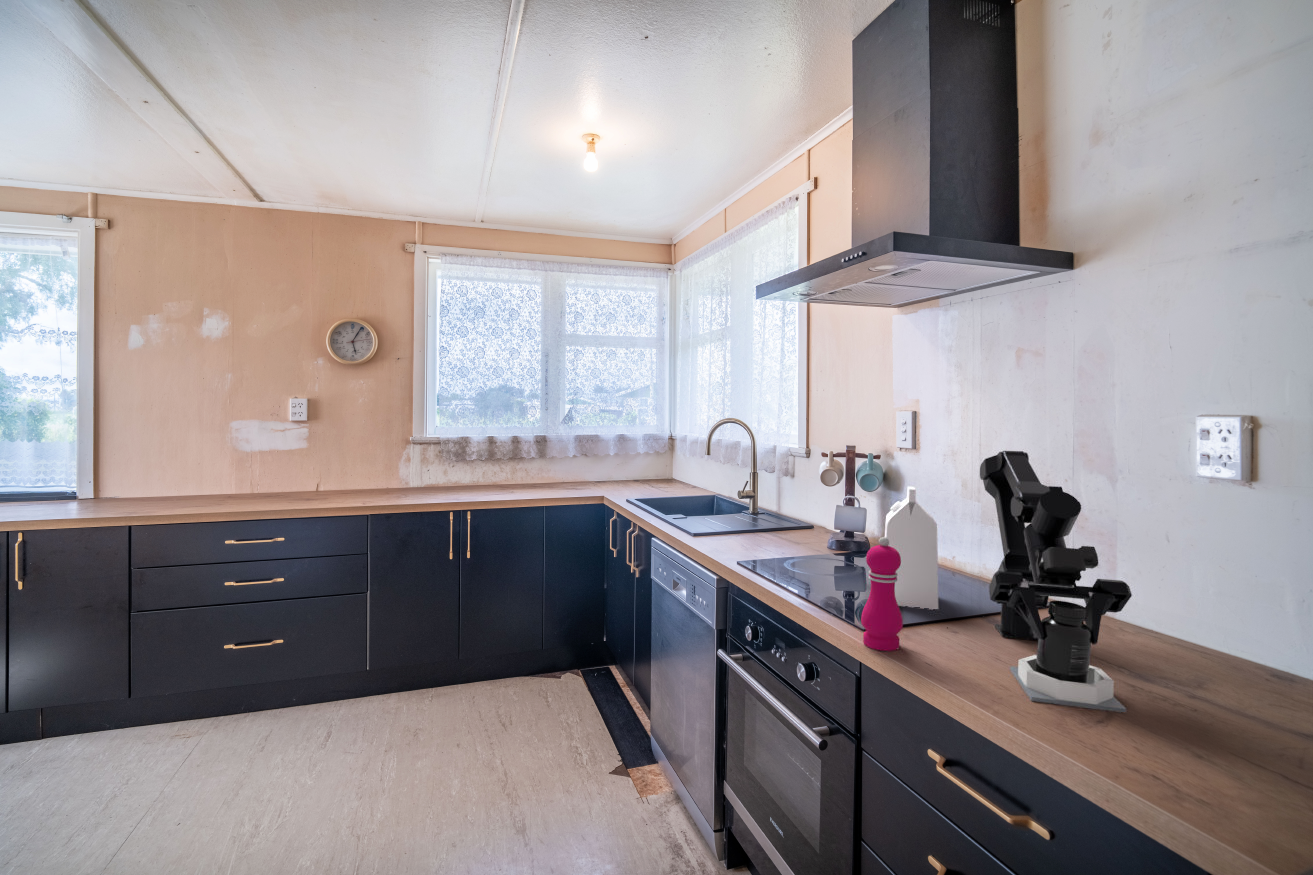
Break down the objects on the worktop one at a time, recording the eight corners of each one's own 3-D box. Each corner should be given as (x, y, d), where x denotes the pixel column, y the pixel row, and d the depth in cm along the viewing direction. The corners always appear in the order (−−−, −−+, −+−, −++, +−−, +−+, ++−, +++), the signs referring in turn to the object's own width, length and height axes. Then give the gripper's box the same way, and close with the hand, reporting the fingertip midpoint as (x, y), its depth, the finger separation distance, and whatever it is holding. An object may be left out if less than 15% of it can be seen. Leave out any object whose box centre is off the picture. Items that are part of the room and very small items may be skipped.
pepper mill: (852, 640, 115) (855, 534, 115) (883, 636, 118) (886, 532, 117) (878, 654, 109) (881, 541, 108) (910, 649, 111) (914, 539, 111)
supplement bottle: (1081, 677, 97) (1090, 603, 97) (1091, 695, 91) (1100, 615, 91) (1031, 667, 100) (1039, 594, 100) (1037, 683, 94) (1046, 606, 93)
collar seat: (1009, 669, 103) (1010, 651, 103) (1093, 679, 99) (1093, 660, 99) (1031, 700, 91) (1032, 680, 91) (1126, 712, 88) (1127, 691, 88)
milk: (938, 609, 135) (942, 492, 134) (882, 604, 139) (885, 489, 138) (932, 595, 147) (936, 486, 146) (881, 590, 150) (884, 484, 149)
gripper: (995, 522, 101) (1011, 609, 91) (1129, 530, 96) (1161, 622, 86) (983, 558, 109) (996, 642, 99) (1106, 567, 104) (1132, 657, 94)
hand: (1068, 640), depth 94 cm, fingers closed on supplement bottle, 7 cm apart
